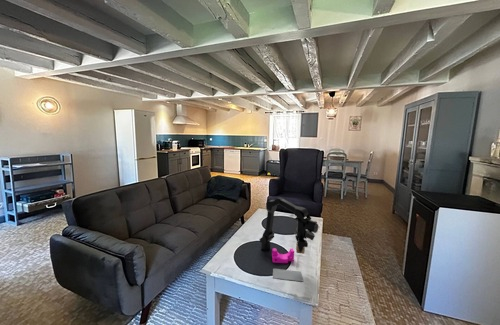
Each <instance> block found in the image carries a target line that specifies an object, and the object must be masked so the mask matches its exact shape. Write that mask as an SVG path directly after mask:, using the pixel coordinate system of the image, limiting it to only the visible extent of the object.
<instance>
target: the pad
mask: <svg viewBox="0 0 500 325" xmlns="http://www.w3.org/2000/svg"><path fill="white" fill-rule="evenodd" d="M302 274H303V273H302V271H300V270H291V269H290V270H289V269H282V268H272V279H276V280H286V281H294V282H295V281H296V282H300V283H301V282H304V281H303V280H304V279H303V276H302Z"/></svg>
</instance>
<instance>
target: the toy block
mask: <svg viewBox="0 0 500 325" xmlns="http://www.w3.org/2000/svg"><path fill="white" fill-rule="evenodd" d="M271 260H272V263H276V264H279V263H280V264H288V263H289V262H294V261H295V249H294V248H289V251H288V252H287V253H284V254H283V253H280V252H278V250H277V248H276V247H273V248H272V250H271Z"/></svg>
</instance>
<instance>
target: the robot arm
mask: <svg viewBox="0 0 500 325" xmlns="http://www.w3.org/2000/svg"><path fill="white" fill-rule="evenodd" d="M278 205H280V206H282V207H284V208H285V209H286V210H289V211H290V212H292V213H293V215H294V216H295V217H294V220H295V221H297V222H296V223H297V224H296V229H295V230H294V235H295V236H294V237H295V240H296V243H297V246H298V248H299V251H300V252H302V250H303V247H305V248H308V244H309V243H308V241H307V240H306V239H309V240H311V241H314V239H315V236H316V235H315V234H317V233H318V230H319V224H318V222H317V221H315V220H312V217H311V215H310V213H309V211H308V210H309V209H307V208H305V207H303V206H298V205H295V204H294V203H292V202H290V201H288V200H287V199H285V198H283V197H277V198H276V199H271V200H268V201H267V202H266V203H265V207H266V208H265V209H266V211H267V214H266V223H265V230H264V231H263V233H262V237H260V238H259V242H260V243H261V246H260V247H261V249H260V251H264V252H270V251H271V241H272V240H273V239H274V238H275V231H273V226H274V225H273V224H274V217H275V212H276V210H277V209H278V208H277V207H278Z"/></svg>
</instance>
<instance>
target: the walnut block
mask: <svg viewBox="0 0 500 325" xmlns="http://www.w3.org/2000/svg"><path fill="white" fill-rule="evenodd" d="M295 245H296V246H295V251H296V253H297V254H305V253H306V252H305V249H306V247H303V250H302V252H300V251H299V248H298V246H297V242H296V244H295Z"/></svg>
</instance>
